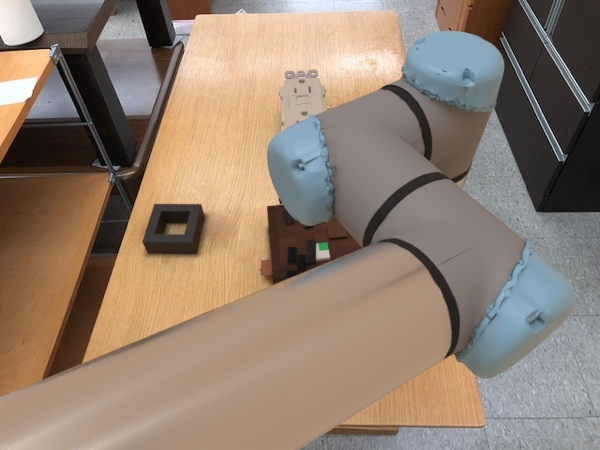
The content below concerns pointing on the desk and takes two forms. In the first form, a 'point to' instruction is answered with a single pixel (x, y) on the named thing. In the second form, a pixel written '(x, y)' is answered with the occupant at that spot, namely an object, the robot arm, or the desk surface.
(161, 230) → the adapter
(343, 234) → the decorative book
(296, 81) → the electrical outlet
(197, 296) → the desk surface
